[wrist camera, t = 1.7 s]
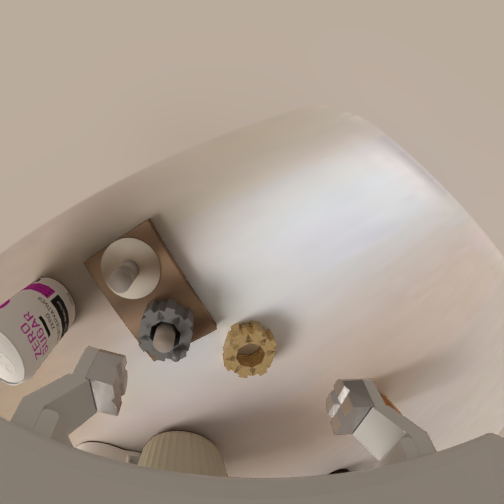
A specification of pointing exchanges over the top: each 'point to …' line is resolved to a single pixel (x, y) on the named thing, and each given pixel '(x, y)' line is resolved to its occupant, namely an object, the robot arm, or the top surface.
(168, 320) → the gear
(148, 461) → the canister
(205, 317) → the gear board
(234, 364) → the brass gear
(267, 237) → the top surface
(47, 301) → the supplement can
